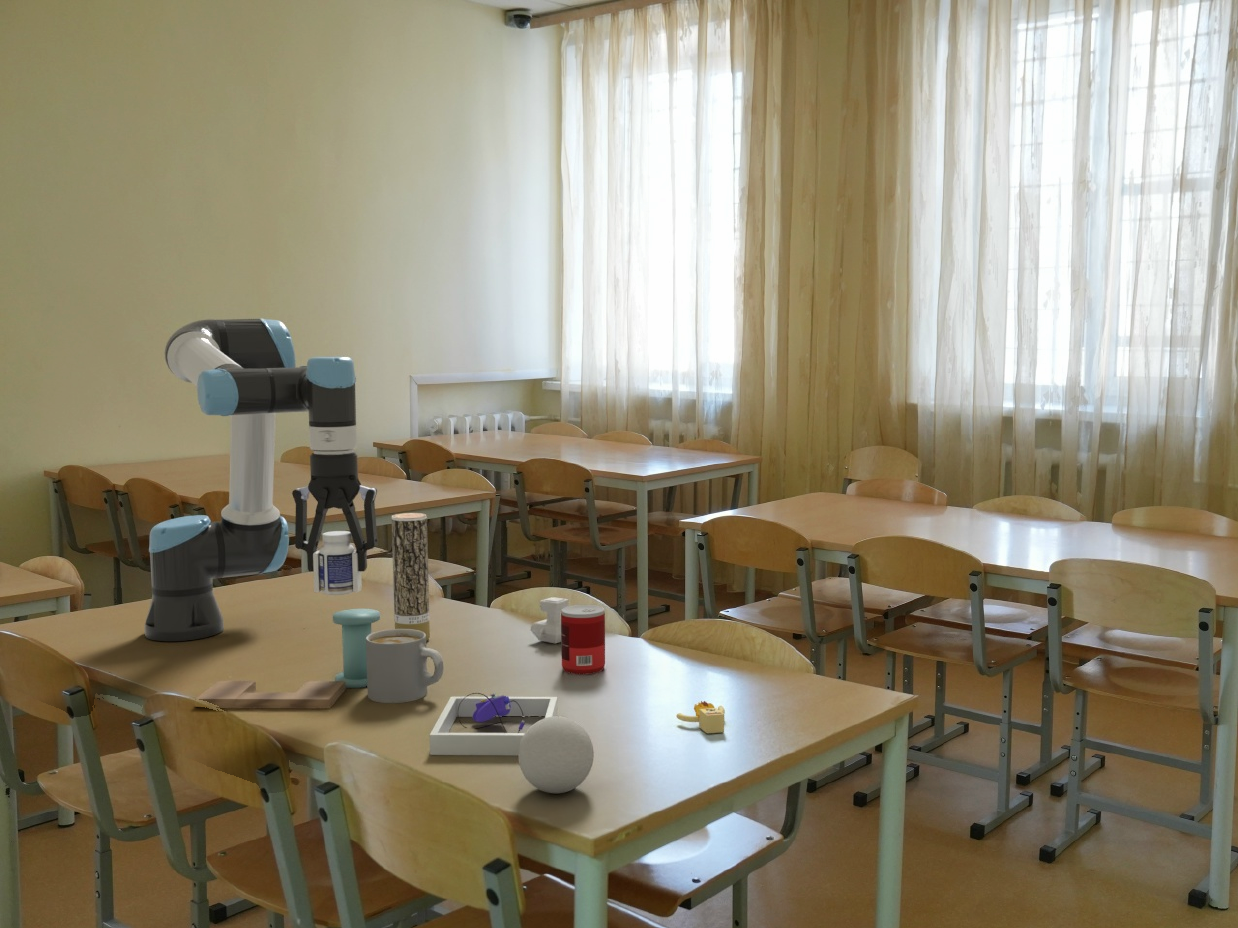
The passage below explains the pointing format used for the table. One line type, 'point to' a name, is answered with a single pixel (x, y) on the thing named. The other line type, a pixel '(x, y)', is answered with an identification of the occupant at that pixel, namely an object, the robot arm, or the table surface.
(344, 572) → the pill bottle
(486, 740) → the controller tray
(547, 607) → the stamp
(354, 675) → the bobbin post
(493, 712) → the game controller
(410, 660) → the coffee mug
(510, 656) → the table surface
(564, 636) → the canned food
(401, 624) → the paper tube
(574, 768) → the ball
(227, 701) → the notch board
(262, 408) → the robot arm
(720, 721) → the character toy
